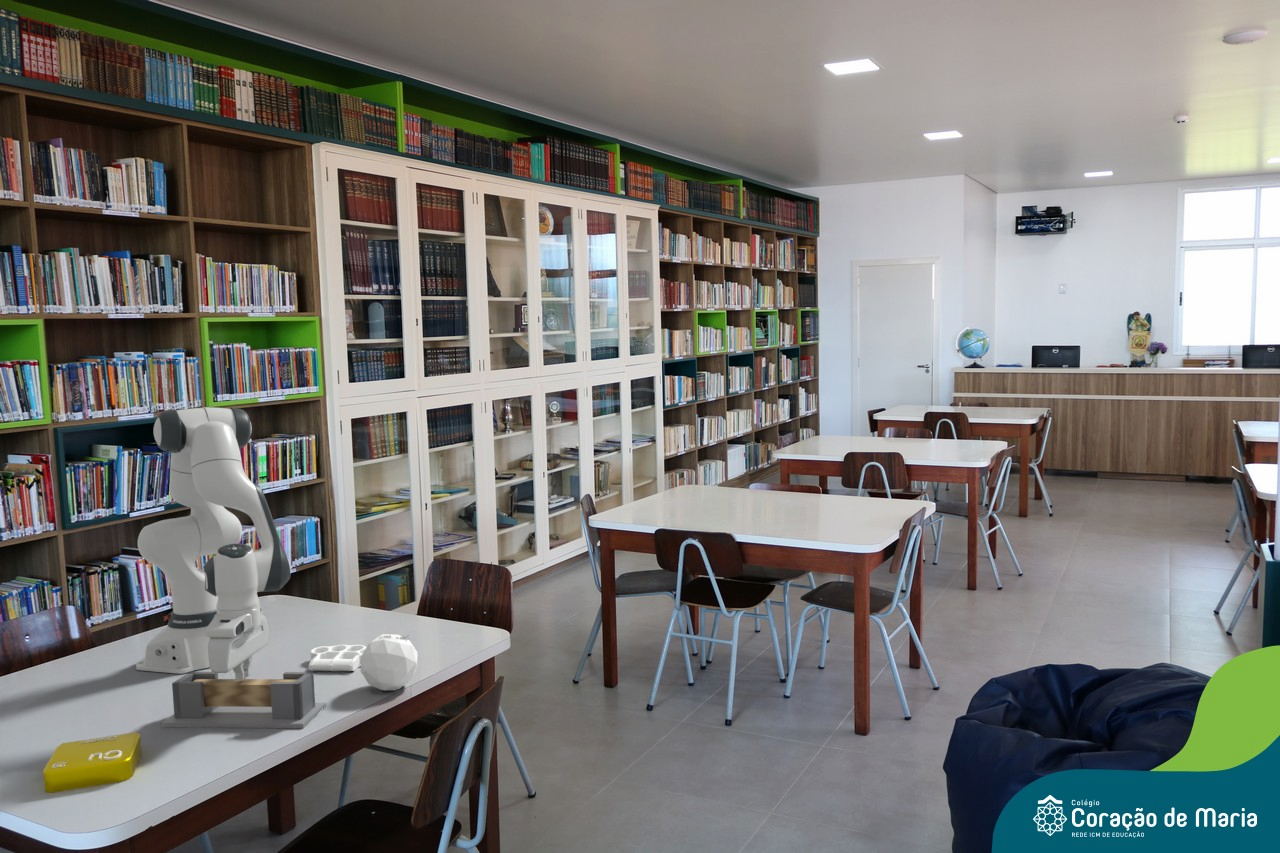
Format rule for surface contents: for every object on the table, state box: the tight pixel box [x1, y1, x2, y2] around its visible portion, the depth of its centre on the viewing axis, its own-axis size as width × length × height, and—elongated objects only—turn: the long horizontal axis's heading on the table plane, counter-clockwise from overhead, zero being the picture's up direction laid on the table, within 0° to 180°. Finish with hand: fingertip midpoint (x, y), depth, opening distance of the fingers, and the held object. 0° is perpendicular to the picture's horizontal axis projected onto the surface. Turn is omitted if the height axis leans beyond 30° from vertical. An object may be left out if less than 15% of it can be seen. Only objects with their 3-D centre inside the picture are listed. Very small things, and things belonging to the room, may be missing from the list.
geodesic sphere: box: [360, 633, 419, 692], centre depth 229 cm, size 14×14×14 cm
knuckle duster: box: [307, 644, 367, 672], centre depth 248 cm, size 3×18×15 cm
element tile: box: [42, 732, 142, 794], centre depth 188 cm, size 15×15×5 cm
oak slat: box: [193, 678, 298, 707], centre depth 214 cm, size 24×4×5 cm, turn 85°
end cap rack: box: [161, 671, 327, 729], centre depth 214 cm, size 32×12×9 cm, turn 85°
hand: (242, 678), depth 213 cm, fingers closed
